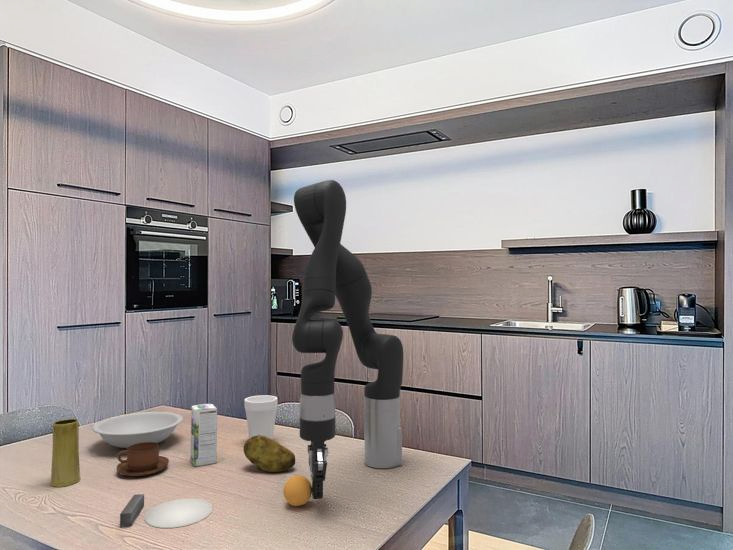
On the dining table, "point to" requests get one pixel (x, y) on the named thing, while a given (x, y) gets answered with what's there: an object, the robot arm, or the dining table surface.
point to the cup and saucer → (141, 460)
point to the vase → (65, 453)
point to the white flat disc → (178, 513)
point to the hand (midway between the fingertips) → (317, 497)
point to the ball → (297, 490)
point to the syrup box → (203, 434)
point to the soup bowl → (137, 428)
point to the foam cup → (261, 415)
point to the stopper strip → (131, 510)
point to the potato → (268, 454)
